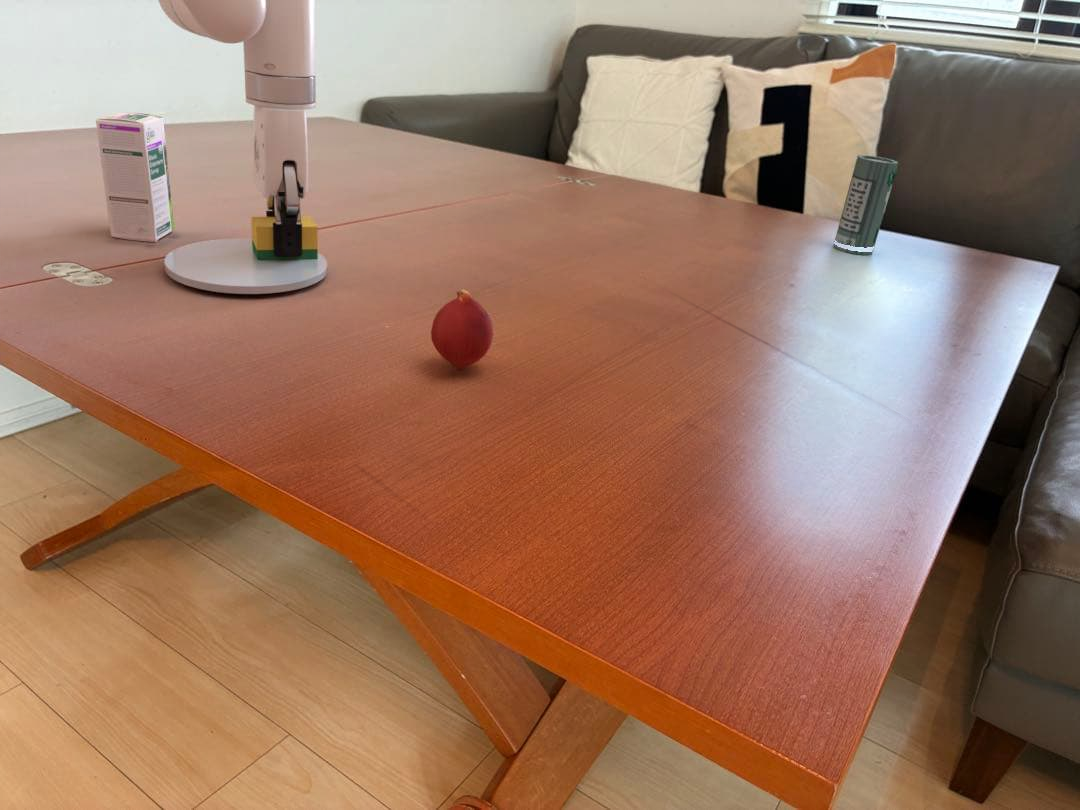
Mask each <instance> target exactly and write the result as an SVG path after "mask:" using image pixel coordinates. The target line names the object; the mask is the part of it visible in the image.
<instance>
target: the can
mask: <svg viewBox="0 0 1080 810" xmlns="http://www.w3.org/2000/svg"><path fill="white" fill-rule="evenodd" d="M899 164H900V163H899V161H897V160H894V159H891V158H887V157H881V156H876V155H875V156H874V155H868V154H865V155H864V154H860V155H857V156H856V160H855V164H854V169H853V171H852V175H851V178H850V183H849V186H848V190H847V193H846V198H845V200H844V205H843V208H842V212H841V216H840V220H839V222H838V223H839V224H838V227H837V230H836V235H835V237H834V238H835V239H834V241H835V240H836V241H837V242H838V243H841V244H844V245H850V246H853V247H854V246H855V247H864V248H867V247H873V246H874V247H875V246H876V242H877V239H878V236H879V231H880V229H881V226H882V222H883V218H884V215H885V212H886V208H887V204H888V201H889V198H890V195H891V191H892V188H893V185H894V181H895V177H896V173H897V170H898V167H899ZM833 248H835V249H836V250H838V251H841V252H843V253H848V254H853V255H858V256H860V255H861V256H871V255H872V254H873V253H874V250H873V251H872V252H873V253H872V252H858V251H851V250H848V249H844V248H841V247H838V246H837V245H835V244H834V243H833Z"/></svg>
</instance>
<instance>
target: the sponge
mask: <svg viewBox="0 0 1080 810" xmlns="http://www.w3.org/2000/svg"><path fill="white" fill-rule="evenodd" d="M250 221H251V223H250V224H251V239H252V249H253V251H254V253H255V256H256V258H257V260H290V259H318V253H319V251H318V248H319V242H318V241H319V239H318V238H319V236H318V235H319V233H318V230H319V228H318V226H317V224H316V222H315V221H314V220H313V218H312V217H311V216H301V223H302V256H300V257H276V256H275V255H274V248H273V223H276V221H275V217H266V216H251V218H250Z"/></svg>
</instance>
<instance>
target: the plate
mask: <svg viewBox="0 0 1080 810" xmlns="http://www.w3.org/2000/svg"><path fill="white" fill-rule="evenodd" d="M163 265H164V270H165V273H166V274H167V276H168V277H170V278H171V279H172V280H173V281H175V282H178V283H179V284H182V285H184V286H186V287H187V286H188V287H191V288H195V289H198V290H204V291H207V292H208V291H209V292H216V293H223V294H235V295H262V294H276V293H284V292H291V291H296V290H300V289H303V288H304V289H305V288H307V287H309V286H312V285H315V284H317V283H319V282H320V281H322V280H323V279H324V278H325V277H326V276H327V274H328V261H327V259H326V258H325V256H324V255H323V254H321V253H320V252H318V259H290V260H257V258H256V256H255V253H254V251H253V249H252V238H247V237H245V238H243V237H242V238H241V237H240V238H237V237H236V238H235V237H233V238H219V239H218V238H217V239H210V240H202V241H196V242H192V243H189V244H185V245H182V246H180V247H177V248H175V249H173V250H171V251H170V252H169V253H167V254H166V256H165V257H164V260H163Z"/></svg>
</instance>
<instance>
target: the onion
mask: <svg viewBox="0 0 1080 810" xmlns="http://www.w3.org/2000/svg"><path fill="white" fill-rule="evenodd" d="M456 295H457V297H456V298H454V299H451V300H450V301H448V302H447V303H445V304H444V305H442V307H441V308H440V309H439V310H438V311H437V313H436V314H435V316H434V319H433V321H432V324H431V325H432V326H431V330H430V337H431V342H432V344H433V346H434V348H435V349H436V351H437V353H438V354H439V355H440V356H441V357H442V358H443V359H444V360H446V361H447V362H448V363H449V364H451V366H452V367H453V368H454V369H456V370H463V369H465V368H467V367H470V366H472V365H474V364H475V363H477V362H479V361H480V360H481V359H483V357H485V356H486V355H487V353H488V351H489V350H490V348H491V345H492V343H493V339H494V325H493V322H492V319H491V317H490V315H489V314H488V311H486V309H485V308H484V307H483V306H482V304H480V303H479V302H478V301H477V300H476V299H475V298H473V296H472V295H471V294H470V293H469V292H468V290H464V289H460V290H458V291H456Z"/></svg>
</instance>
